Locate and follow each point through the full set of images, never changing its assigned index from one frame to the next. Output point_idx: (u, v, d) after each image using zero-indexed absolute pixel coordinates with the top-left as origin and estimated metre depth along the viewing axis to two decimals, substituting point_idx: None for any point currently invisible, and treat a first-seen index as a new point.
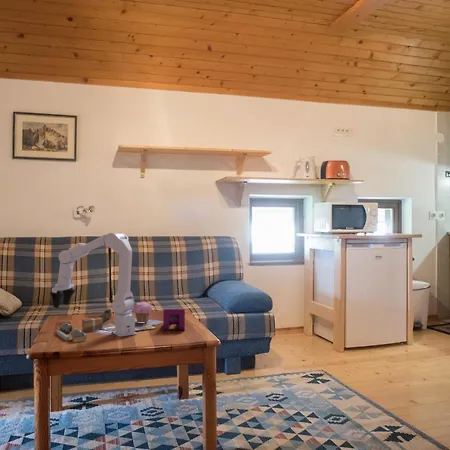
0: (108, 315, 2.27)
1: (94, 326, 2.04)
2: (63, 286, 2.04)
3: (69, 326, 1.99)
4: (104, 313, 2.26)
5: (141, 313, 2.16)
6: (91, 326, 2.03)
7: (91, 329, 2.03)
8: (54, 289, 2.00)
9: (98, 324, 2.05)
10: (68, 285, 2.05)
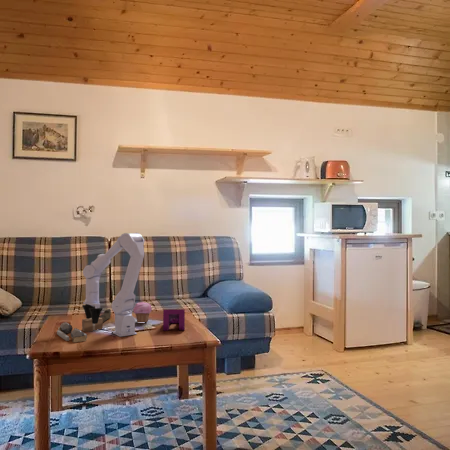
0: (108, 315, 2.27)
1: (94, 326, 2.04)
2: (97, 301, 2.04)
3: (69, 326, 1.99)
4: (104, 313, 2.26)
5: (141, 313, 2.16)
6: (91, 326, 2.03)
7: (91, 329, 2.03)
8: (98, 305, 1.99)
9: (98, 324, 2.05)
10: (98, 299, 2.06)
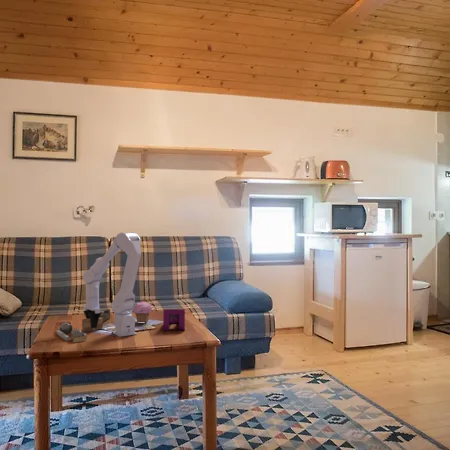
0: (108, 315, 2.27)
1: None
2: (97, 306, 2.04)
3: (69, 326, 1.99)
4: (104, 313, 2.26)
5: (141, 313, 2.16)
6: None
7: (91, 329, 2.03)
8: (98, 309, 1.99)
9: (98, 324, 2.05)
10: (98, 304, 2.06)
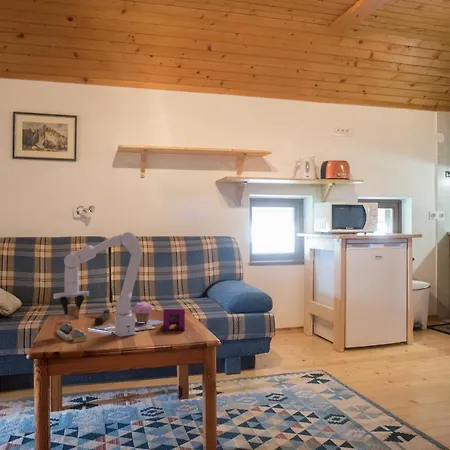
0: (107, 315, 2.27)
1: None
2: None
3: (69, 326, 1.99)
4: (103, 313, 2.26)
5: (141, 313, 2.16)
6: None
7: None
8: None
9: None
10: None
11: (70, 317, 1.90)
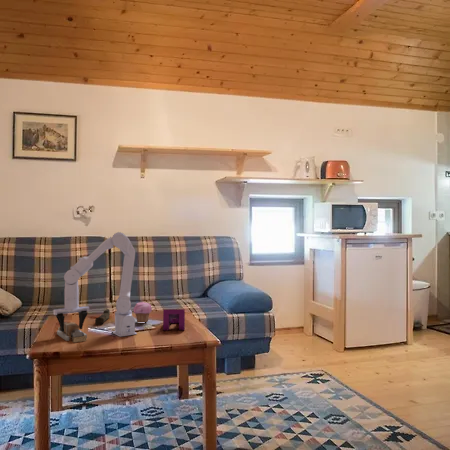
0: (107, 315, 2.27)
1: None
2: None
3: None
4: (103, 313, 2.26)
5: (141, 313, 2.16)
6: None
7: None
8: None
9: None
10: None
11: (70, 335, 1.90)
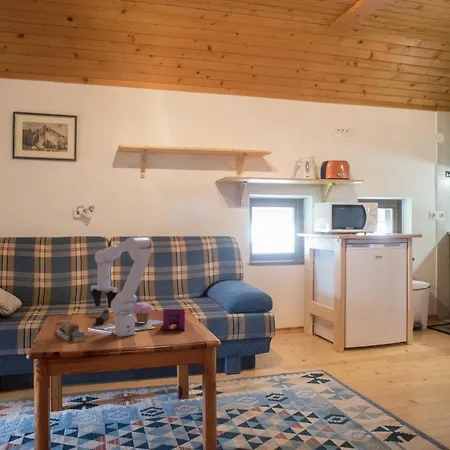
0: (107, 315, 2.27)
1: None
2: None
3: None
4: (103, 313, 2.26)
5: (141, 313, 2.16)
6: None
7: None
8: (116, 289, 2.04)
9: None
10: None
11: (70, 335, 1.90)
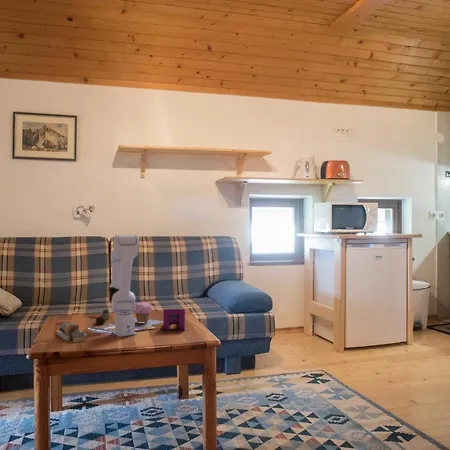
0: (107, 315, 2.27)
1: None
2: None
3: None
4: (103, 313, 2.26)
5: (141, 313, 2.16)
6: None
7: None
8: None
9: None
10: None
11: (70, 335, 1.90)
